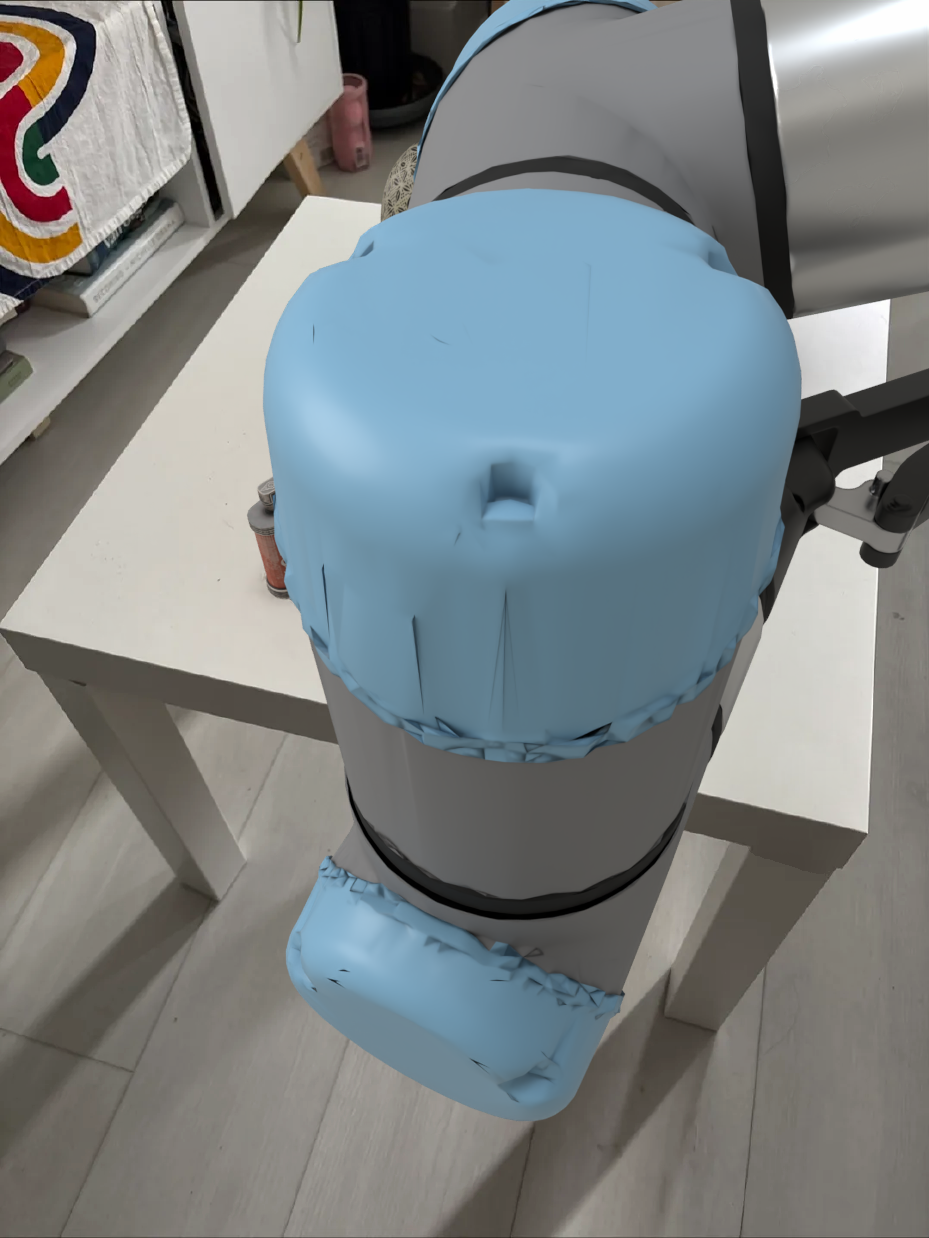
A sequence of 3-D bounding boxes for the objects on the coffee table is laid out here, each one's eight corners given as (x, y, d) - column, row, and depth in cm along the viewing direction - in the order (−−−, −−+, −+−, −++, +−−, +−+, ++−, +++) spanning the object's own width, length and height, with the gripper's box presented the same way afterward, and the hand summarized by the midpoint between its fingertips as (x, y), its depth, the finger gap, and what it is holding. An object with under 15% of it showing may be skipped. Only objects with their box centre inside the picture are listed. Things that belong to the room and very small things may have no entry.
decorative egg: (495, 335, 90) (494, 178, 79) (374, 323, 92) (356, 168, 80) (516, 266, 98) (518, 113, 86) (404, 256, 99) (391, 104, 87)
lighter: (283, 606, 71) (257, 509, 63) (258, 581, 72) (228, 483, 64) (371, 551, 74) (355, 452, 66) (344, 528, 75) (326, 428, 68)
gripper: (322, 540, 37) (548, 258, 48) (1024, 798, 29) (1092, 390, 41) (288, 379, 31) (554, 101, 42) (1157, 650, 23) (1192, 223, 35)
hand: (818, 242), depth 42 cm, fingers open, 13 cm apart
